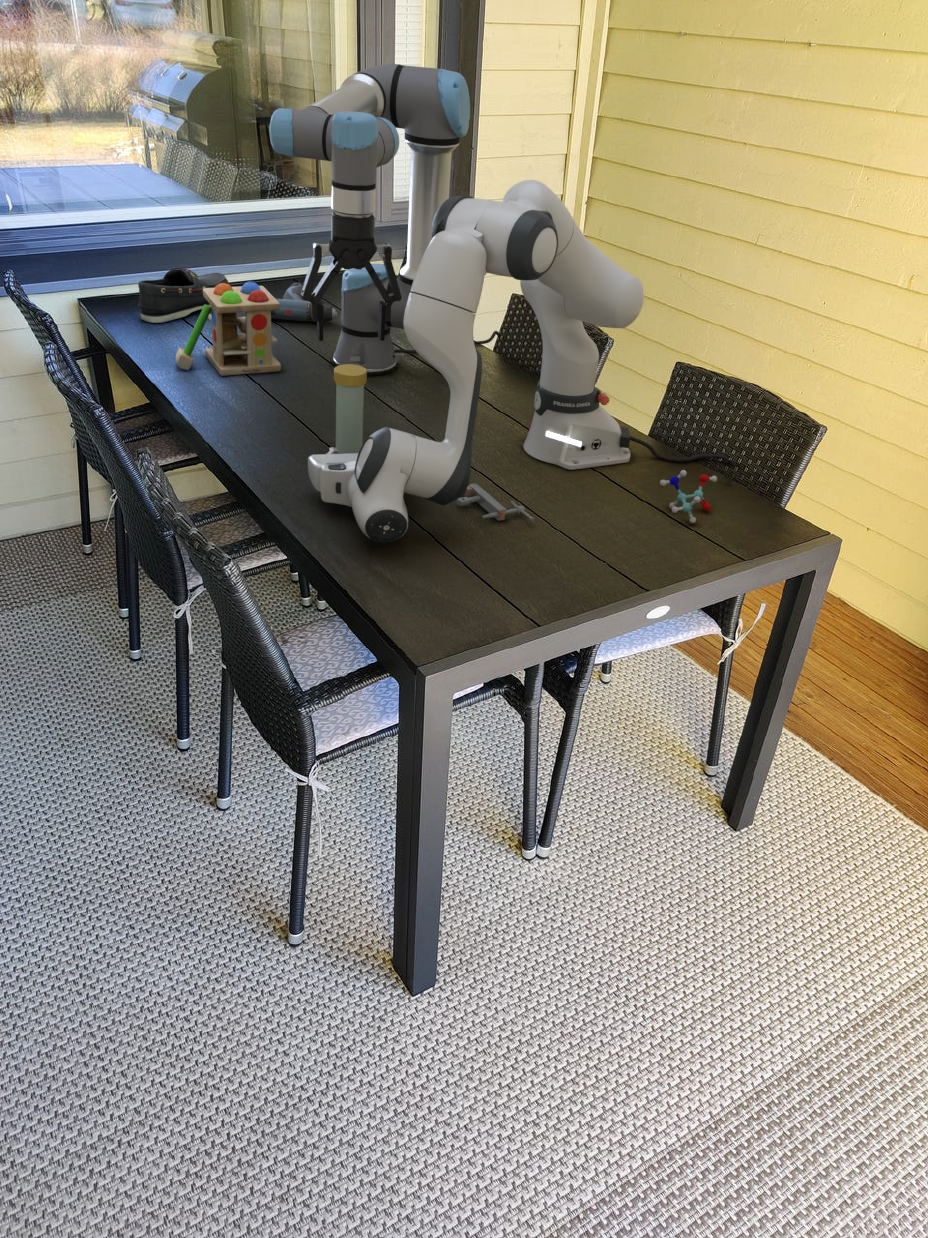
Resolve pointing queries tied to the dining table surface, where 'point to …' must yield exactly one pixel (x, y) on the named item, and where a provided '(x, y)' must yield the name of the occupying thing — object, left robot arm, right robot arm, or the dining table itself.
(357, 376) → the lid
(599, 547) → the dining table surface
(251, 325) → the pounding bench toy
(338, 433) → the jar
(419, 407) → the dining table surface
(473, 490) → the clamp
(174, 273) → the boat shoe
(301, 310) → the power drill
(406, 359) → the dining table surface
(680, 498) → the molecular model
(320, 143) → the left robot arm
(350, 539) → the dining table surface
